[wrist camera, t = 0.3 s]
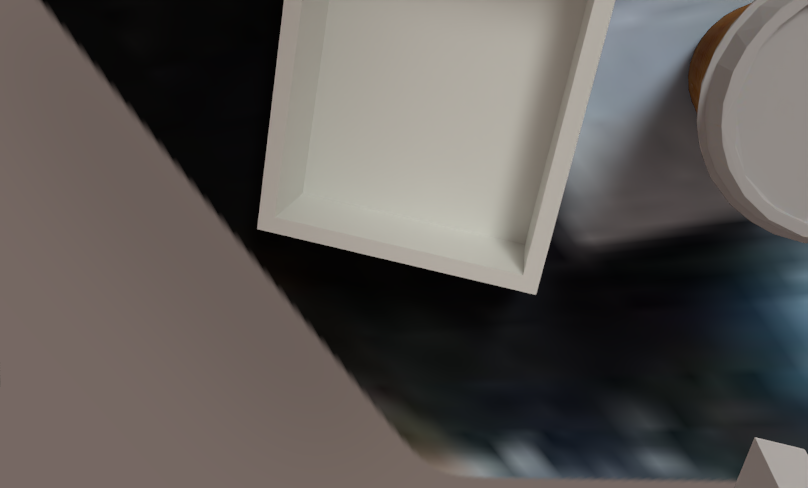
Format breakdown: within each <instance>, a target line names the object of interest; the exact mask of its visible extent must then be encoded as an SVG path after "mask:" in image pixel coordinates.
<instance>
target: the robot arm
mask: <svg viewBox="0 0 808 488" xmlns="http://www.w3.org/2000/svg"><path fill="white" fill-rule="evenodd" d="M734 488H808V454H807V453H806V451H805V449H801V448H797V447H793V446H789V445H785V444H781V443H776V442H772V441H768V440H764V439H760V438H756V437H755V438H754V440H753V443H752V445H751V448H750V450H749V453H748V455H747V457H746V460H745V462H744V465H743V467H742V470H741V472H740V475H739V477H738V479H737V482H736V484H735V487H734Z"/></svg>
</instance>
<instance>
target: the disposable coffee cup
mask: <svg viewBox="0 0 808 488" xmlns="http://www.w3.org/2000/svg"><path fill="white" fill-rule="evenodd" d="M688 82H689V92H690V96H691V100H692V103H693V105H694V107H695V110H696V112H697V129H698V138H699V146H700V149H701V153H702V156H703V159H704V161H705V164H706V167H707V170H708V172H709V175H710V177H711V179H712V180H713V182H714V183H715V184H716V186H717V187H718V188H719V190H720V191H721V193H722V194H723V195H724V197H725V198H726V199H727V201H728V202H729V204H730V205H731V206H733V207H734V208H735V209H736V210H737V211H739V212H740V213H741V214H742V215H743V216H745V217H746V218H747V219H748V220H750V221H751V222H753V223H754V224H756V225H758V226H760V227H762V228H764V229H765V230H767V231H769V232H771V233H773V234H775V235H779V236H782V237H786V238H789V239H792V240H796V241H799V242H803V243H808V0H754V1H753V2H752V3H750V4H748V5H746V6H744V7H741V8H738V9H736V10H734V11H732V12H731V13H729V14H727V15H725V16H724V17H723V18H721V19H720V20H719V21H718V22H717V23H715V24H714V25H713V26H712V27H711V28H710V29H709V30H708V32H707V33H706V34H705V35H704V37H703V38H702V39H701V41H700V42H699V44H698V46H697V47H696V49H695V52H694V54H693V57H692V60H691V62H690V68H689V75H688Z"/></svg>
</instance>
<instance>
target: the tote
mask: <svg viewBox="0 0 808 488" xmlns="http://www.w3.org/2000/svg"><path fill="white" fill-rule="evenodd" d="M614 4H615V0H284V4H283V12H282V21H281V29H280V38H279V46H278V55H277V64H276V72H275V81H274V89H273V98H272V106H271V115H270V123H269V132H268V140H267V149H266V157H265V166H264V174H263V183H262V191H261V200H260V209H259V217H258V226H257V229H259V230H263V231H267V232H272V233H276V234H280V235H284V236H289V237H293V238H297V239H301V240H306V241H310V242H314V243H318V244H322V245H327V246H331V247H335V248H339V249H344V250H348V251H352V252H356V253H361V254H365V255H369V256H373V257H378V258H382V259H386V260H390V261H394V262H399V263H403V264H407V265H411V266H416V267H420V268H424V269H428V270H433V271H437V272H441V273H445V274H449V275H454V276H458V277H462V278H466V279H471V280H475V281H479V282H483V283H488V284H492V285H496V286H500V287H505V288H509V289H513V290H517V291H521V292H526V293H530V294H534V295H536V293H537V289H538V286H539V282H540V278H541V275H542V271H543V267H544V263H545V260H546V256H547V252H548V249H549V245H550V241H551V237H552V234H553V230H554V226H555V223H556V219H557V215H558V212H559V208H560V204H561V200H562V197H563V193H564V189H565V186H566V182H567V178H568V174H569V171H570V167H571V163H572V160H573V156H574V152H575V148H576V145H577V141H578V137H579V134H580V130H581V126H582V122H583V119H584V115H585V111H586V108H587V104H588V100H589V96H590V93H591V89H592V85H593V82H594V78H595V74H596V70H597V67H598V63H599V59H600V56H601V52H602V48H603V44H604V41H605V37H606V33H607V30H608V26H609V22H610V18H611V15H612V11H613V7H614Z"/></svg>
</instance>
